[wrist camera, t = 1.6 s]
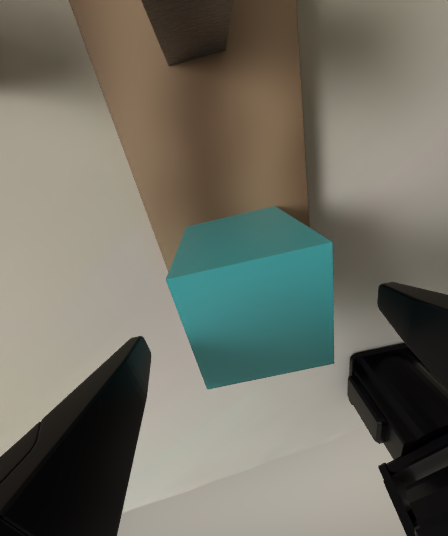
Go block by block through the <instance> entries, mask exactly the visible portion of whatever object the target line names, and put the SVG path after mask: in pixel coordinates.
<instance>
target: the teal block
mask: <svg viewBox="0 0 448 536" xmlns="http://www.w3.org/2000/svg"><path fill="white" fill-rule="evenodd" d="M166 282H167V284H168V287H169V290H170V292H171V295H172V297H173V300H174V303H175V305H176V308H177V311H178V313H179V316H180V319H181V321H182V324H183V326H184V329H185V332H186V334H187V337H188V340H189V342H190V345H191V348H192V350H193V353H194V356H195V358H196V361H197V363H198V366H199V369H200V371H201V374H202V377H203V379H204V382H205V385H206V387H207V389H212V388H217V387H222V386H226V385H231V384H236V383H241V382H246V381H251V380H256V379H261V378H266V377H270V376H275V375H280V374H285V373H290V372H295V371H300V370H305V369H309V368H314V367H319V366H324V365H329V364H334V320H333V249H332V241H330V240H328V239H327V238H325V237H324V236H322V235H320V234H319V233H317V232H316V231H314V230H312V229H311V228H309V227H308V226H306V225H304V224H303V223H301V222H300V221H298V220H296V219H295V218H293V217H292V216H290V215H288V214H287V213H285V212H284V211H282V210H280V209H279V208H277V207H276V206H272V207H268V208H264V209H259V210H255V211H251V212H247V213H242V214H238V215H234V216H230V217H225V218H221V219H217V220H213V221H208V222H204V223H200V224H196V225H191V226H187V227H186V229H185V231H184V234H183V236H182V239H181V242H180V244H179V247H178V249H177V252H176V255H175V257H174V260H173V262H172V265H171V268H170V270H169V273H168V275H167V278H166Z"/></svg>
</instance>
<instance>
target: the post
mask: <svg viewBox="0 0 448 536" xmlns="http://www.w3.org/2000/svg"><path fill="white" fill-rule="evenodd" d="M141 1H142V3H143V6H144V8H145V11H146V13H147V16H148V18H149V20H150V23H151V25H152V28H153V30H154V32H155V35H156V37H157V40H158V42H159V44H160V47H161V49H162V52H163V54H164V56H165V59H166V61H167V64H168V66H171V65H175V64H179V63H182V62H186V61H190V60H194V59H197V58H201V57H205V56H209V55H213V54H216V53H220V52H224V51H226V46H227V39H228V32H229V25H230V18H231V11H232V3H233V0H141Z"/></svg>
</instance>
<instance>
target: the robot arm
mask: <svg viewBox="0 0 448 536" xmlns="http://www.w3.org/2000/svg"><path fill="white" fill-rule="evenodd" d="M377 304H378V307H379V309H380V311H381V312H382V313H383V315H384V316H385V317H386V319H387V320H388V321H389V323H390V324H391V325H392V327H393V328H394V329H395V331H396V332H397V333H398V335H399V336H400V337H401V339H402V340H403V341H404V342H405V344H401V345H396V346H392V347H387V348H382V349H377V350H372V351H367V352H362V353H357V354H354V355H352V356H351V357H350V370H349V377H348V397H349V401H350V403H351V404H352V405H354V407H355V409H356V410H357V412H358V414H359V415H360V417H361V419H362V420H363V422H364V424H365V425H366V427H367V429H368V430H369V432H370V434H371V435H372V437H373V439H374V440H375V441H376V442H378V443H379V444H380V443H384V445H385V446H386V448H387V450H388V451H389V453H390V454H391V456H392V458H393V459H394V460H393V461H391V462H389V463H387V464H386V463H383V464H381V465H379V470H380V472H381V474H382V476H383V479H384V484H385V486H386V489H387V491H388V493H389V496H390V498H391V500H392V502H393V505H394V507H395V509H396V511H397V514H398V516H399V519H400V521H401V523H402V525H403V527H404V530H405V532H406V535H407V536H448V295H446V294H442V293H438V292H433V291H429V290H425V289H421V288H416V287H412V286H408V285H404V284H399V283H395V282H389V283H384V284H381V285H380V286H379V290H378V301H377ZM150 364H151V352H150V349H149V347H148V345H147V343H146V341H145V339H144V338H143V337H142V336H138V337H133V338H131V339H130V340H128V341H127V342H126V343H125V344H124V345H123V346H122V347H121V348H120V349H119V350H117V351H116V352H115V353H114V354H113V355H112V356H111V357H110V358H109V359H108V360H107V361H105V362H104V363H103V364H102V365H101V366H100V367H99V368H98V369H97V370H96V371H95V372H93V373H92V374H91V375H90V376H89V377H88V378H87V379H86V380H85V381H84V382H82V383H81V384H80V385H79V386H78V387H77V388H76V389H75V390H74V391H73V392H72V393H70V394H69V395H68V396H67V397H66V398H65V399H64V400H63V401H62V402H61V403H59V404H58V405H57V406H56V407H55V408H54V409H53V410H52V411H51V412H50V413H49V414H47V415H46V416H45V417H44V418H43V419H42V421H41V422H39V423H38V424H36V425H35V426H34V427H33V428H32V429H31V430H30V431H29V432H28V433H27V434H26V435H24V436H23V437H22V438H21V439H20V440H19V441H18V442H17V443H15V444H14V445H13V446H12V447H11V448H10V449H9V450H8V451H7V452H5V453H4V454H3V455H2V456H1V457H0V536H117V532H118V528H119V523H120V519H121V514H122V510H123V505H124V500H125V496H126V491H127V486H128V482H129V477H130V473H131V468H132V463H133V459H134V454H135V450H136V445H137V440H138V436H139V431H140V426H141V422H142V417H143V413H144V408H145V403H146V398H147V391H148V382H149V373H150Z"/></svg>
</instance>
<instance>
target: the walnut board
mask: <svg viewBox="0 0 448 536" xmlns="http://www.w3.org/2000/svg"><path fill="white" fill-rule="evenodd" d="M69 2H70V5H71V7H72V10H73V13H74V16H75V18H76V21H77V24H78V27H79V29H80V32H81V35H82V38H83V40H84V43H85V46H86V48H87V51H88V54H89V57H90V59H91V62H92V65H93V68H94V70H95V73H96V76H97V78H98V81H99V84H100V87H101V89H102V92H103V95H104V98H105V100H106V103H107V106H108V108H109V111H110V114H111V117H112V119H113V122H114V125H115V128H116V130H117V133H118V136H119V138H120V141H121V144H122V147H123V149H124V152H125V155H126V158H127V160H128V163H129V166H130V168H131V171H132V174H133V177H134V179H135V182H136V185H137V188H138V190H139V193H140V196H141V199H142V201H143V204H144V207H145V209H146V212H147V215H148V218H149V220H150V223H151V226H152V229H153V231H154V234H155V237H156V239H157V242H158V245H159V248H160V250H161V253H162V256H163V259H164V261H165V264H166V267H167V269H168V272H169V270H170V268H171V265H172V262H173V260H174V257H175V255H176V252H177V249H178V247H179V244H180V242H181V239H182V236H183V234H184V231H185V229H186V227H187V226H191V225H196V224H200V223H204V222H208V221H213V220H217V219H221V218H225V217H230V216H234V215H238V214H242V213H247V212H251V211H255V210H259V209H264V208H268V207H272V206H276V207H277V208H279V209H280V210H282V211H284V212H285V213H287V214H288V215H290V216H292V217H293V218H295V219H296V220H298V221H300V222H301V223H303V224H304V225H306V226H308V227H309V212H308V195H307V178H306V160H305V143H304V126H303V109H302V92H301V75H300V58H299V41H298V24H297V7H296V0H233V3H232V11H231V18H230V25H229V32H228V39H227V46H226V51H224V52H220V53H216V54H213V55H209V56H205V57H201V58H197V59H194V60H190V61H186V62H182V63H179V64H175V65H171V66H168V64H167V61H166V59H165V56H164V54H163V52H162V49H161V47H160V44H159V42H158V40H157V37H156V35H155V32H154V30H153V28H152V25H151V23H150V20H149V18H148V16H147V13H146V11H145V8H144V6H143V3H142V1H141V0H69Z"/></svg>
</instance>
